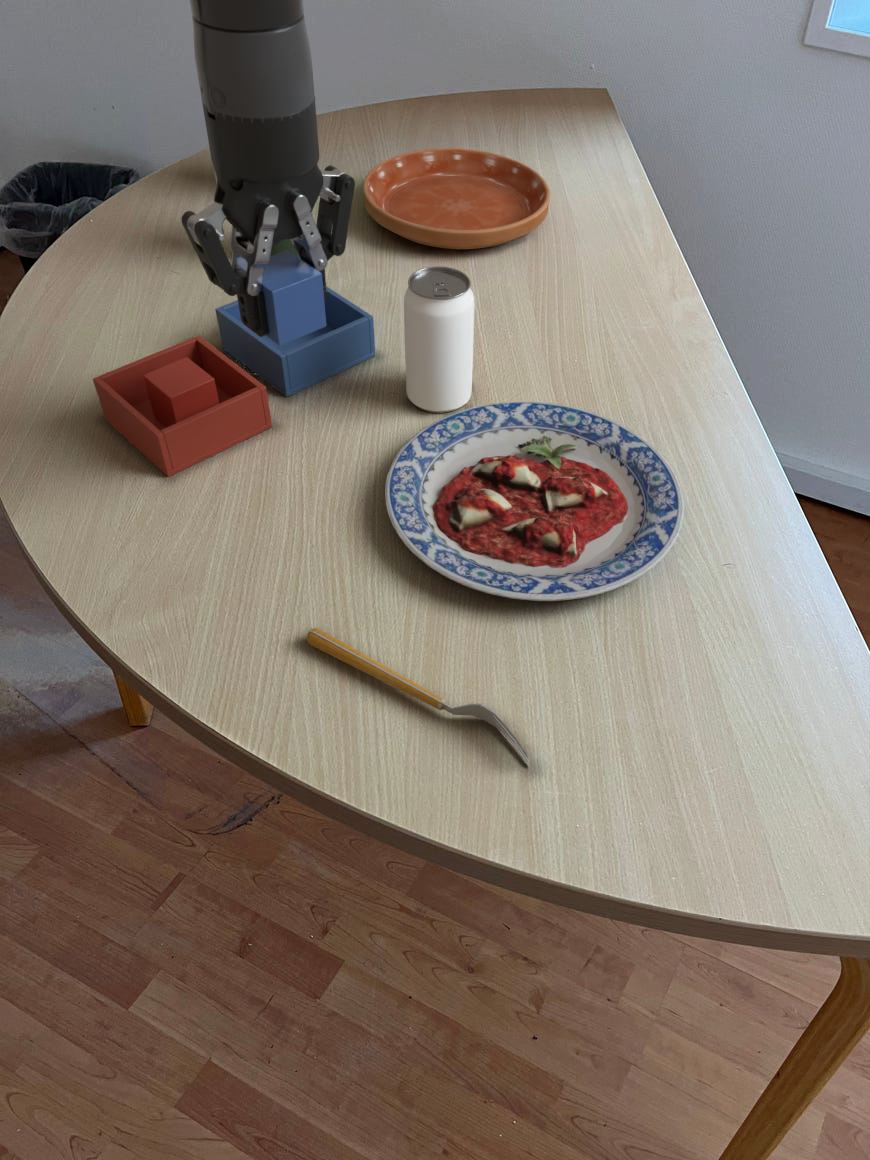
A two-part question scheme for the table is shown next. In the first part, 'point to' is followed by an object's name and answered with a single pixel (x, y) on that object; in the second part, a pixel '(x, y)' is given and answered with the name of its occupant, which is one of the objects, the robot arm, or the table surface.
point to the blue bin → (301, 346)
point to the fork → (404, 682)
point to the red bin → (198, 434)
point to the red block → (180, 391)
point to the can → (439, 339)
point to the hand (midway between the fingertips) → (285, 319)
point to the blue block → (292, 298)
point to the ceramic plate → (534, 501)
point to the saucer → (456, 197)
